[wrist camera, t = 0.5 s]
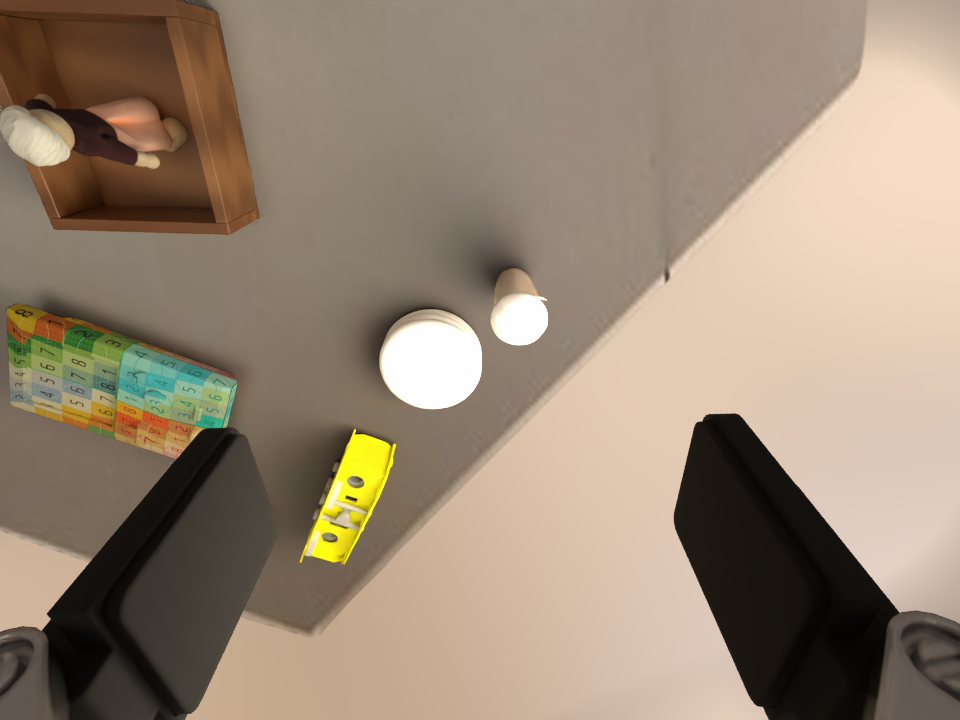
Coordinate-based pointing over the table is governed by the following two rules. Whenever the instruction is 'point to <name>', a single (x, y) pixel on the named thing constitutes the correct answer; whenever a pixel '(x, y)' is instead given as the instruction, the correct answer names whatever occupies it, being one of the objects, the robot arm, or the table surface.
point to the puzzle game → (112, 382)
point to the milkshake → (517, 309)
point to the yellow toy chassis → (349, 498)
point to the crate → (123, 74)
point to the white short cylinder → (431, 359)
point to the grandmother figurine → (90, 131)
